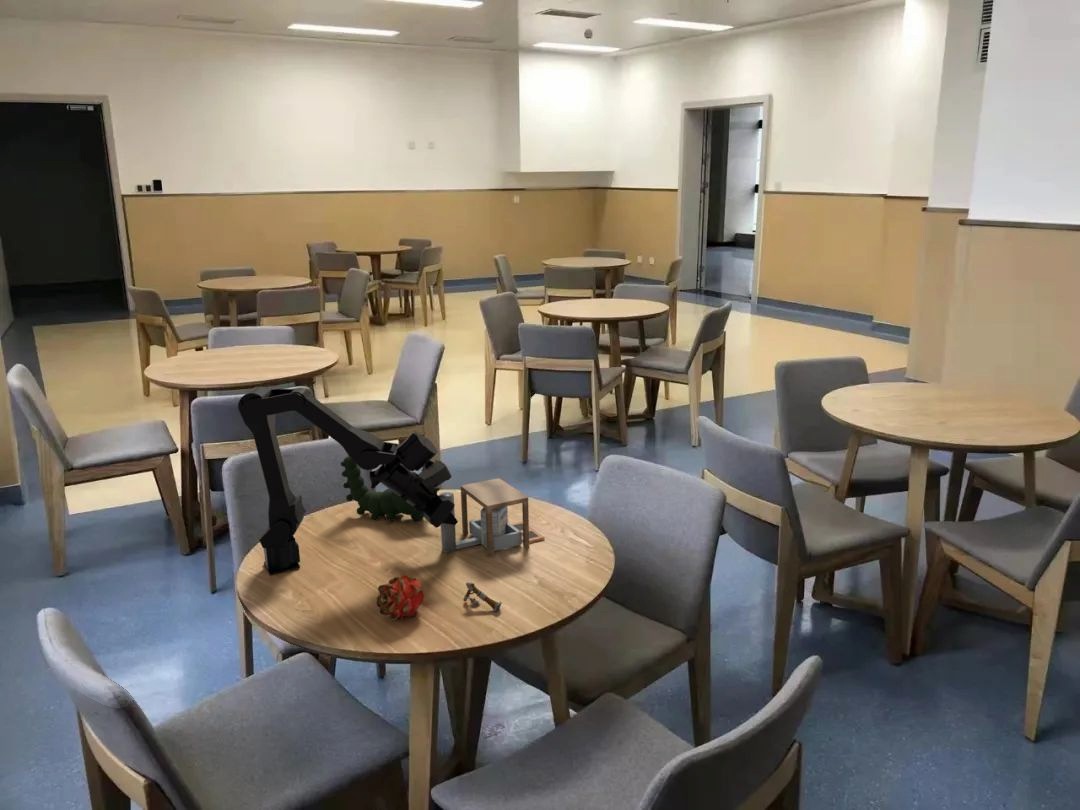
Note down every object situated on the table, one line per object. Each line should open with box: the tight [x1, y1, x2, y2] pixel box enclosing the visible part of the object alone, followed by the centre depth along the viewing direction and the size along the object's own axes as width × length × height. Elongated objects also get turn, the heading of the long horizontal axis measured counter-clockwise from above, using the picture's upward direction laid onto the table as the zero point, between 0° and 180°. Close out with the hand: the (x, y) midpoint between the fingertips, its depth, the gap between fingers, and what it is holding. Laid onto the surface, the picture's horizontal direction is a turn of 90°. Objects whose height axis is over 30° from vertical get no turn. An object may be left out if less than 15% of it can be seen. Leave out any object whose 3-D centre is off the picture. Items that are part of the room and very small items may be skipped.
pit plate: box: [510, 520, 545, 544], centre depth 192 cm, size 5×11×1 cm, turn 29°
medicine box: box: [480, 506, 509, 546], centre depth 188 cm, size 8×4×9 cm, turn 168°
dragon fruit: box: [376, 573, 425, 621], centre depth 156 cm, size 8×8×12 cm
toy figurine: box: [340, 455, 441, 523], centre depth 200 cm, size 9×19×25 cm
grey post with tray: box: [438, 491, 523, 553], centre depth 185 cm, size 17×12×13 cm
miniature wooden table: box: [460, 477, 530, 558], centre depth 187 cm, size 10×15×12 cm
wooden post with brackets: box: [462, 581, 503, 613], centre depth 159 cm, size 2×8×4 cm, turn 61°
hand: (453, 520), depth 182 cm, fingers closed on grey post with tray, 3 cm apart
